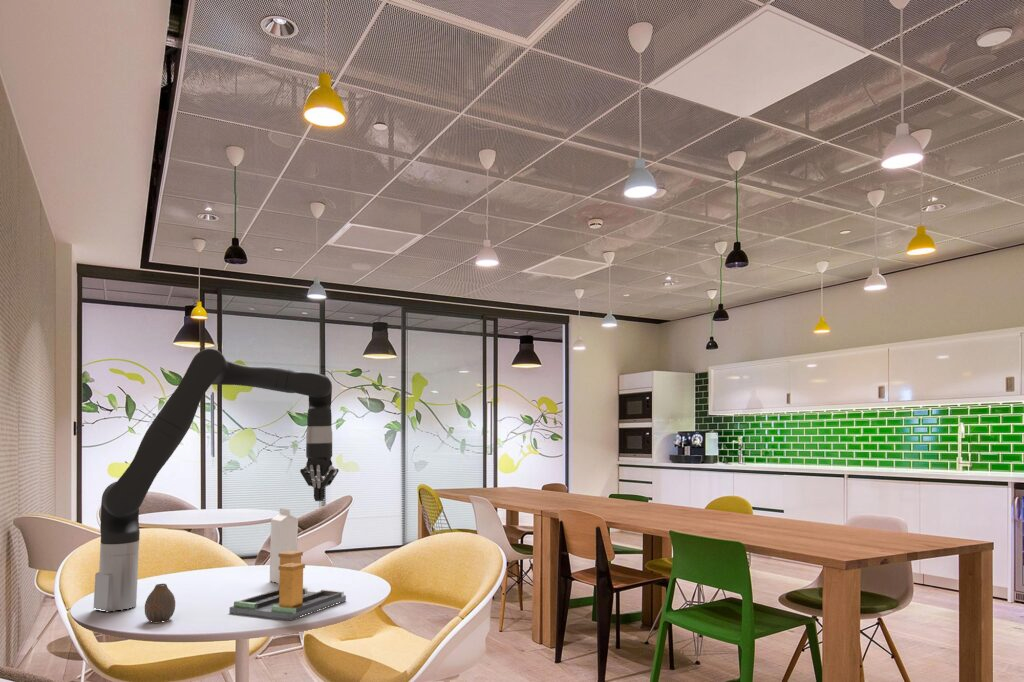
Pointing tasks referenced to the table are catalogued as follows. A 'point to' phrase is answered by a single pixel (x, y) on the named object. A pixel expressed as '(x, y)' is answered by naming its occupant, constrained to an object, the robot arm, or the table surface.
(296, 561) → the orange capped square pillar
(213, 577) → the table surface
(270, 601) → the twin pillar base
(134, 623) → the table surface
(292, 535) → the milk
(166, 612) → the vase
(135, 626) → the table surface
